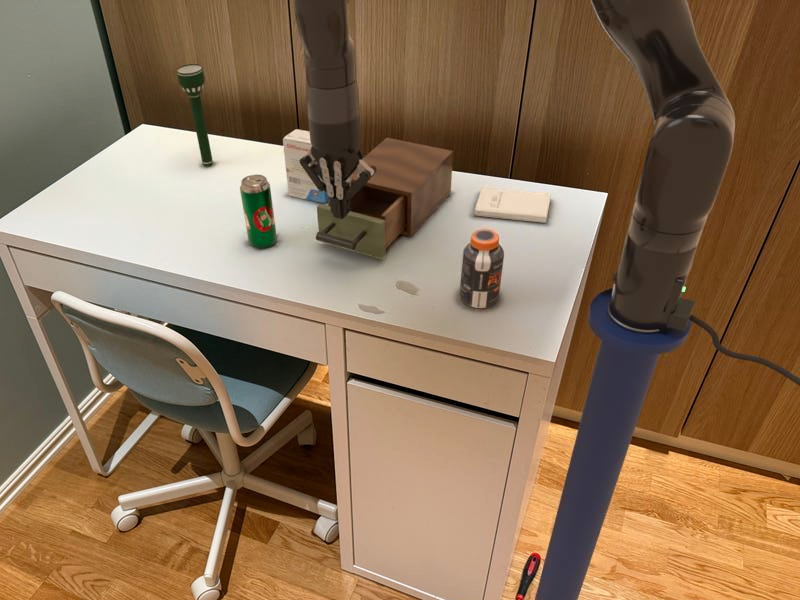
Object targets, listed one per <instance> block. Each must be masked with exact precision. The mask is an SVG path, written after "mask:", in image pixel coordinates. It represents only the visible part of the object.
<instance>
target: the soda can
mask: <svg viewBox="0 0 800 600" xmlns="http://www.w3.org/2000/svg"><path fill="white" fill-rule="evenodd" d="M240 182H241V183H240V186H239V192H240V198H241V204H242V210H243V216H244V222H245V228H246V234H247V239H248V243H249V244H250V245H251V246H252V247H254V248H258V249H265V248H270V247H271V246H272V245H274V244H275V243H276V241H277V239H278V235H277V228H276V227H277V226H276V221H275V220H276V219H275V214H274V213H275V212H274V205H273V199H272V192H271V184H270V182H269V181H268V178H267V177H266V176H265V175H262V174H250V175H247V176H245V177H243V178H242V179H241V181H240Z"/></svg>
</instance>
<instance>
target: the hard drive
mask: <svg viewBox="0 0 800 600" xmlns="http://www.w3.org/2000/svg"><path fill="white" fill-rule="evenodd" d="M551 197H552V193H546V192H534V191H523V190H511V189H500V188H489V187H481V189H480V192H479V196H478V198H477V201H476V205H475V208H474V216H477V217H484V218H485V217H486V218H493V219H494V218H495V219H505V220H515V221H525V222H533V223H534V222H535V223H542V224H546V223H547V219H548V215H549V209H550V203H551Z"/></svg>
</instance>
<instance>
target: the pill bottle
mask: <svg viewBox="0 0 800 600" xmlns="http://www.w3.org/2000/svg"><path fill="white" fill-rule="evenodd" d="M462 253H463V254H462V260H461V261H462V262H461V273H460V285H459V298H460V300H461V302H462V303H464V304H466V305H467V306H468V307H471V308H475V309H485V308H489V307H492V306H493V305H495V304H497V302H498V301H499V298H500V291H501V284H502V283H501V282H502V275H503V266H504V259H505V251H504V248H503V246H501V244H500V235H499V233H498V232H497V231H495V230H492V229H489V228H480V229H476V230H474V231H473V232H472V233H471V236H470V242H468V243H467V244H466V245H465V247H464V248H463V252H462Z"/></svg>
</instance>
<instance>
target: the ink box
mask: <svg viewBox="0 0 800 600" xmlns="http://www.w3.org/2000/svg"><path fill="white" fill-rule="evenodd" d="M282 145H283V154H284V165H285V173H286V183H287V184H286V185H287V193H288V196H289V197H294V198H298V199H302V200H305V201H306V200H307V201H311V202H316V203H319V204H324V205H326V204H327V203H328V201H330V197H329V196H328V194H327V192H325V191H322V192H321V191H319V190H318V189H317V187H316V186H315V184H314V183H313V181H312V180H311V179H310V177H309V176H308V174H307V173H306V171H305V170H304V169H303V167H302V166H301V164H300V162H299V161H300V159H301V158H302V157H303V156H305V155H306V154H308V153H309V152H311V151H310V150H311V147H312V144H311V142H310V133H309V130H304V129H303V130H302V129H299V128H298V129H297V128H295V129H294V130H293V131H291V132H289V133H288V134H287V135H285V136H284V137H283V138H282ZM318 177H319V178H320V176H319V175H318ZM320 180H321V181H322V179H321V178H320Z"/></svg>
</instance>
